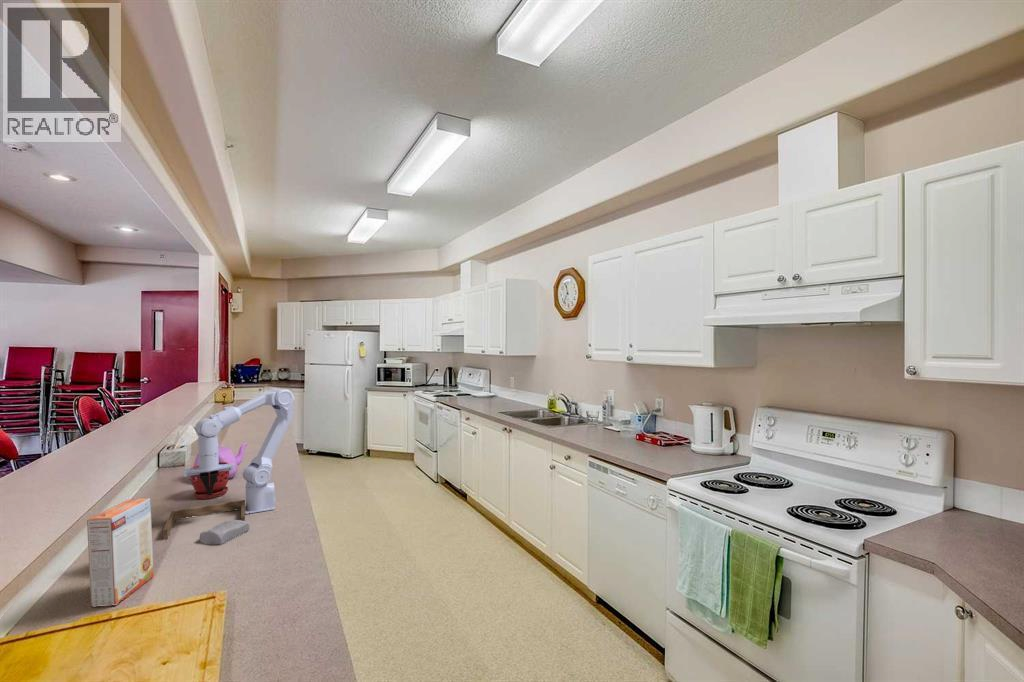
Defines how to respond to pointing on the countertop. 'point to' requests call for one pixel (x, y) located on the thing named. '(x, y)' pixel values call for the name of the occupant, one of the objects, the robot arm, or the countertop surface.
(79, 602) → the countertop surface
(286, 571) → the countertop surface
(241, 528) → the stone block
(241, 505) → the brown wooden open frame
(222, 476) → the plant pot
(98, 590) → the cracker box
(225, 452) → the teapot
